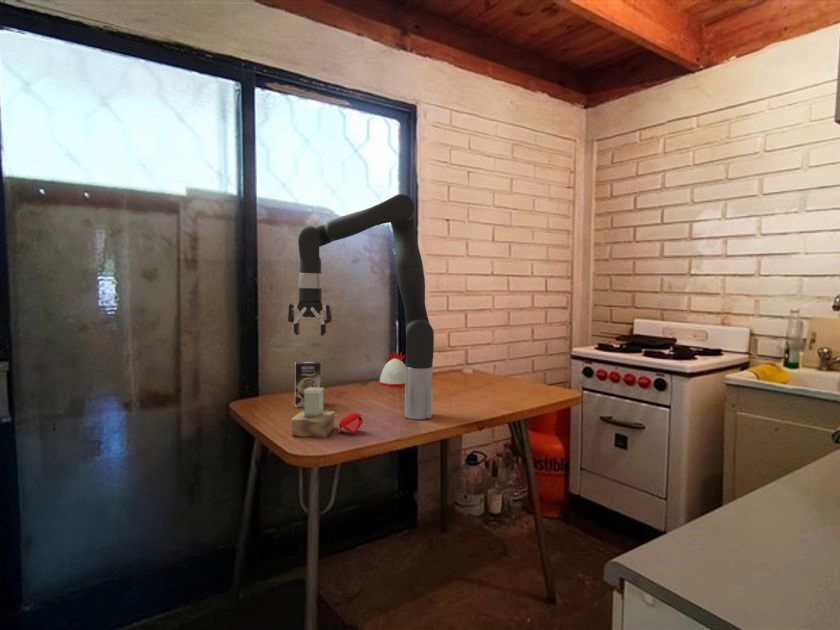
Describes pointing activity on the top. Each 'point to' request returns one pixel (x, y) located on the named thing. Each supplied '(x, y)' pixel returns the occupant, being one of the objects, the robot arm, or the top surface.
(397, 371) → the kitchen timer
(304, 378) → the coffee box
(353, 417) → the cap
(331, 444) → the top surface
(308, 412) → the tea tin
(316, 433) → the beige flat block
